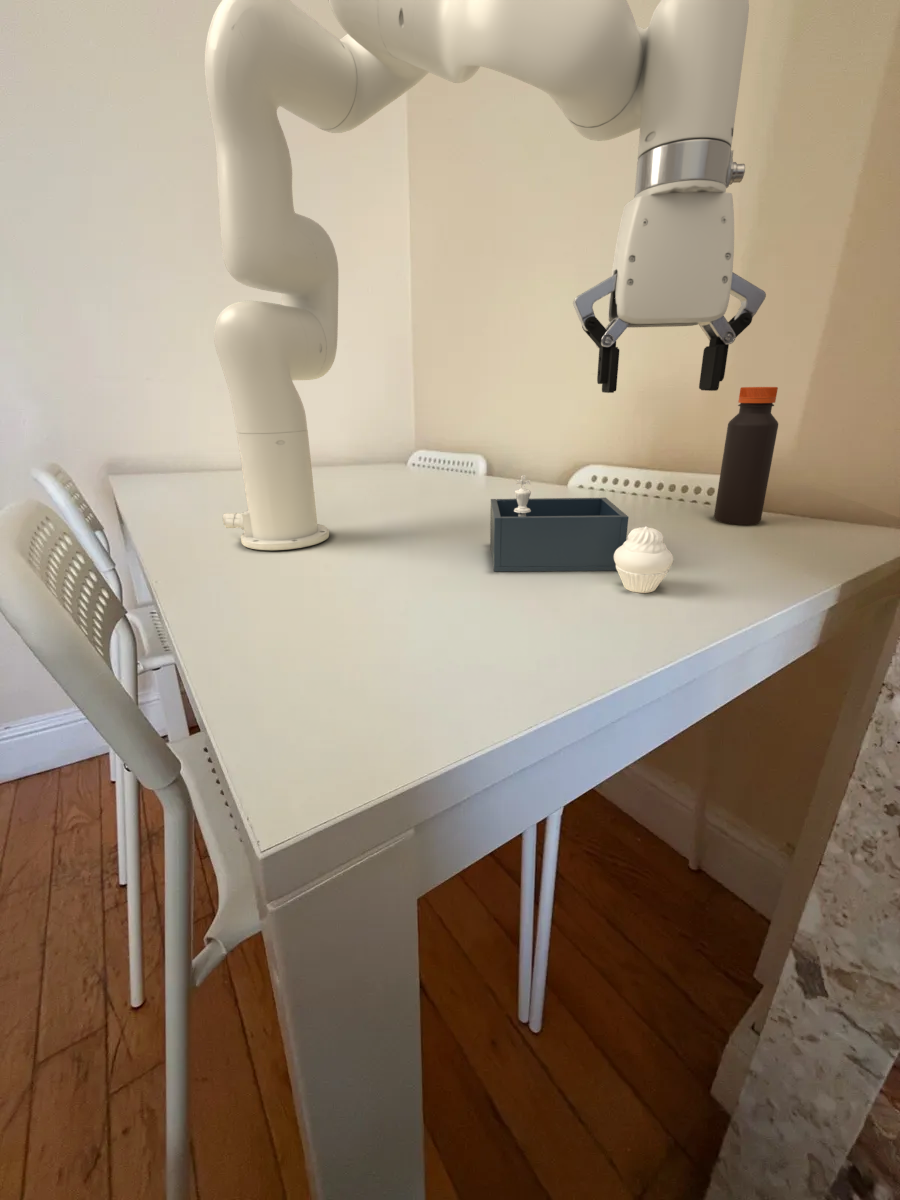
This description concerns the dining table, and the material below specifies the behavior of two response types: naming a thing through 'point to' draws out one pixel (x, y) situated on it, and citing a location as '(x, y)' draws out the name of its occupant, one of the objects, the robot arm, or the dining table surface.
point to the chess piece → (522, 497)
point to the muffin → (643, 560)
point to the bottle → (747, 458)
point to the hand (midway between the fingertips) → (658, 391)
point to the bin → (556, 534)
